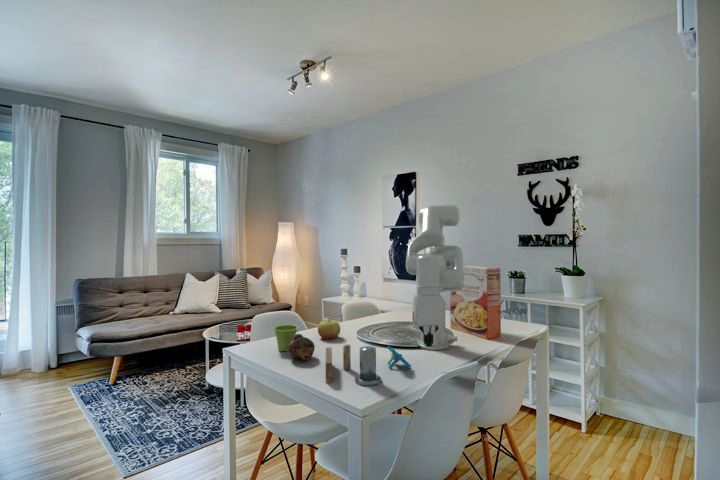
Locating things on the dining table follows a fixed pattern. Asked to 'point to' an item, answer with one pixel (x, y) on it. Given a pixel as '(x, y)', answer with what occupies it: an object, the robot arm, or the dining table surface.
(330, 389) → the dining table surface
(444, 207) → the robot arm
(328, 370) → the brown wooden plank
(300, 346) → the decorative turtle
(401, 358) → the gear
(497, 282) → the pasta box
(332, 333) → the apple
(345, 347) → the dowel pin
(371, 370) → the post
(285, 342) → the plant pot
